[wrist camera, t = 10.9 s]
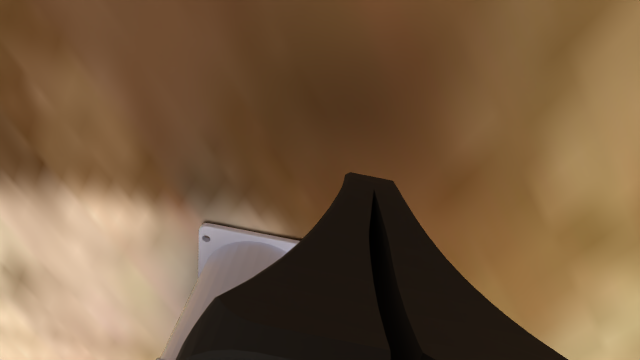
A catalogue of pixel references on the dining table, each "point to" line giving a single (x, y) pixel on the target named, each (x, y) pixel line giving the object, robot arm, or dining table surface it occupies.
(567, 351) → the dining table surface
